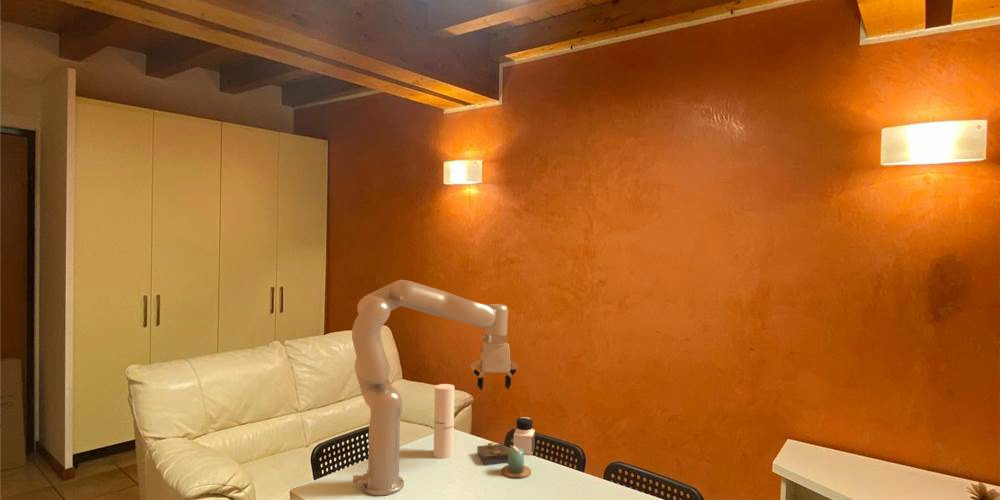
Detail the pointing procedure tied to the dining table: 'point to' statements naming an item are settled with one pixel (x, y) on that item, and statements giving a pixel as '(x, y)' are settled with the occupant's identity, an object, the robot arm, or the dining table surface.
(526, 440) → the medicine bottle
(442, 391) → the cylindrical container
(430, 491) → the dining table surface
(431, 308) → the robot arm
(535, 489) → the dining table surface
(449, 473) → the dining table surface
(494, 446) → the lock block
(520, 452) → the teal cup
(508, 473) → the coaster
